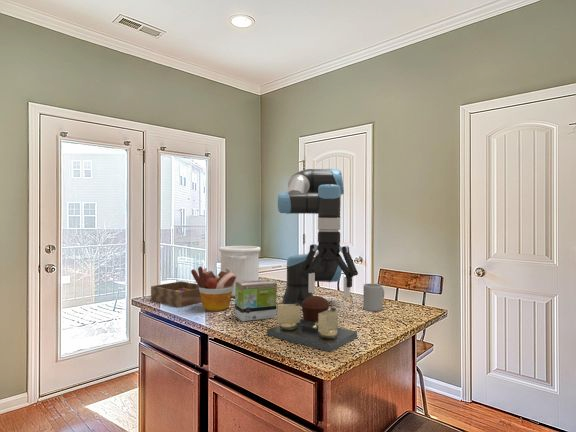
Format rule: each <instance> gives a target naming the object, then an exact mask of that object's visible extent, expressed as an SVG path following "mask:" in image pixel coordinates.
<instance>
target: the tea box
mask: <svg viewBox="0 0 576 432" xmlns="http://www.w3.org/2000/svg"><path fill="white" fill-rule="evenodd" d="M277 289H278V283H276V282H274V281H271V280H270V279H259V280H254V281H238V282H236V286H235V297H234V316H235V317H236V318H237V319H238V320H239V321H241V322H246V321H247V322H249V321H256V320H266V319H267V320H268V319H277V299H278V298H277V295H278V290H277Z"/></svg>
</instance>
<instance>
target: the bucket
mask: <svg viewBox="0 0 576 432" xmlns="http://www.w3.org/2000/svg"><path fill="white" fill-rule="evenodd" d="M261 250H262V249H261V247H260V246H254V245H230V246H229V245H227V246H219V247H218V251H219V252H220V272H221V271H222V272H226V268H229V269H230V271H232V272H233V274H235V275H236V279H235V282H234V284H233V285H234V288H233V291H232V296H231V298H235V286H236V282H238V281H254V280H260V279H259V278H260V277H259V262H260V261H259V260H260V259H259V255H260V253H259V252H261ZM226 273H227V272H226Z"/></svg>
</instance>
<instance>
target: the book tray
mask: <svg viewBox="0 0 576 432" xmlns="http://www.w3.org/2000/svg"><path fill="white" fill-rule="evenodd" d="M179 288H181V289H182V288H187V289H192V290H187V291H181V292H180V291H175V290H176V289H179ZM150 301H152V302H156V303H161V304H164V305H168V306H171V307H172V306H173V307H175V308H180V309H181V308H183V307H185V308H186V307H189V306H193V304H194V305H197V304H202V301H201V296H200V291H199V287H198V284H197V283H192V282H189V281H188V282H187V281H182V280H181V281H174V282H169V283H168V282H167V283H162V284H157V285H151V286H150Z"/></svg>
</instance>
